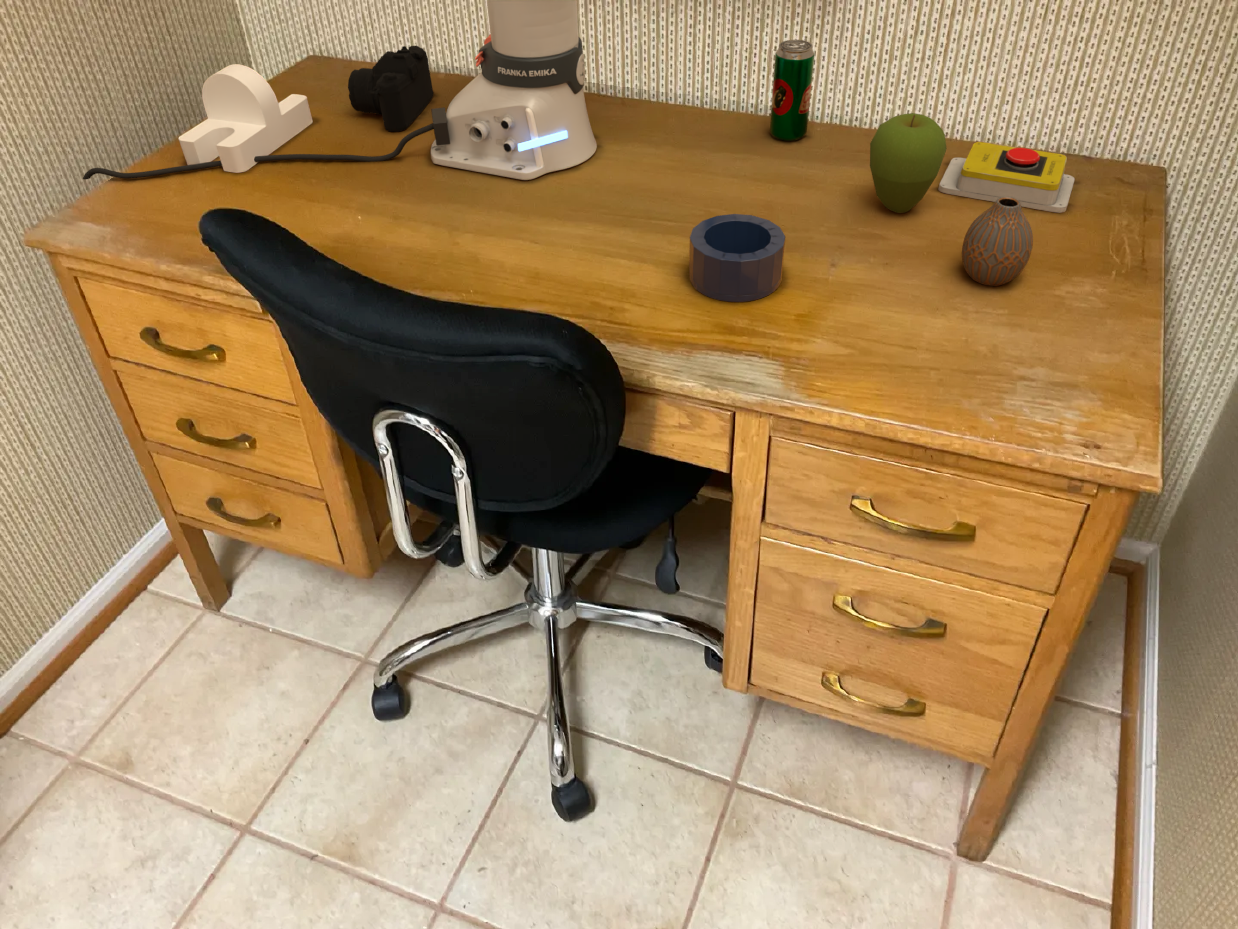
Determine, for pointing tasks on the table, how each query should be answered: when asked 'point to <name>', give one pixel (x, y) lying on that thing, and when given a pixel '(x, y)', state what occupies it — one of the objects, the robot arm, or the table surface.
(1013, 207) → the vase
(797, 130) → the soda can
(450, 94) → the table surface
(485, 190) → the table surface
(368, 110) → the film camera
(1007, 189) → the emergency button
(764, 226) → the socket
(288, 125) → the white slotted bracket
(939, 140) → the apple
